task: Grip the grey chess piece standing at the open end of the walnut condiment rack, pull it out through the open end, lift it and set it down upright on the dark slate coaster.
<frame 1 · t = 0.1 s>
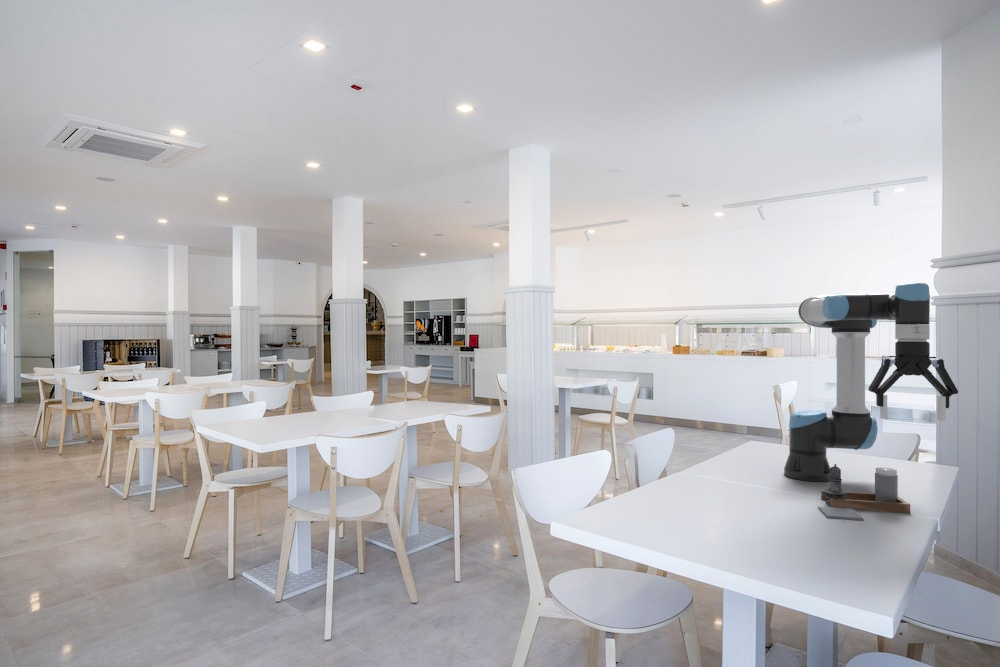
hand: (912, 419, 155), 28 cm above the table, fingers open, 13 cm apart
coaster: (840, 514, 163), on the table
rack: (861, 505, 171), on the table
grey chess piece: (835, 504, 173), resting in rack
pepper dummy: (886, 506, 170), resting in rack
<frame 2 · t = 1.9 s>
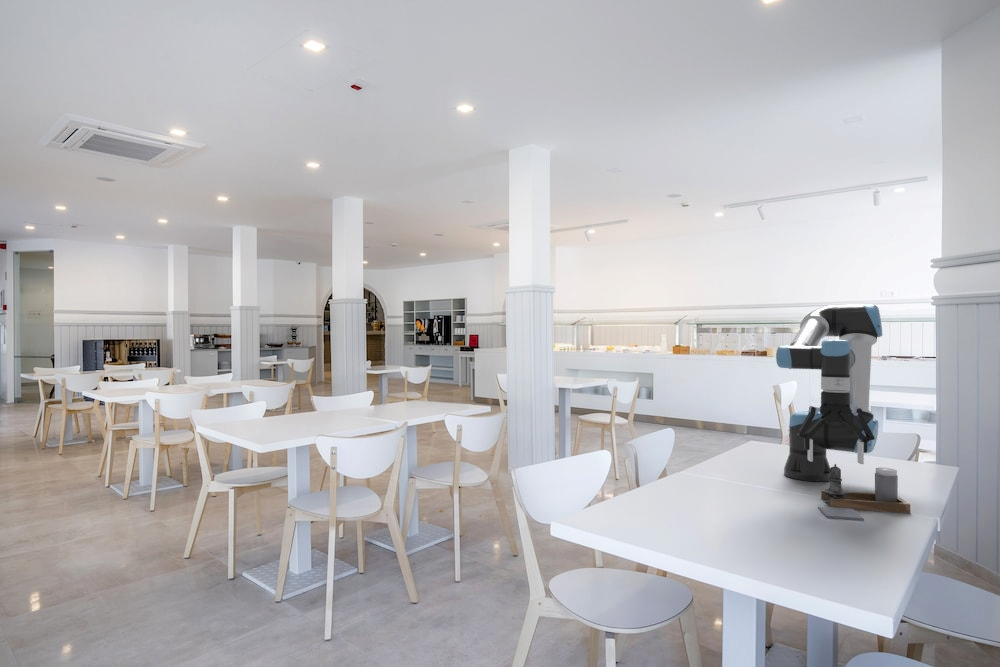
hand: (835, 462, 173), 13 cm above the table, fingers open, 13 cm apart
nothing on the table moved.
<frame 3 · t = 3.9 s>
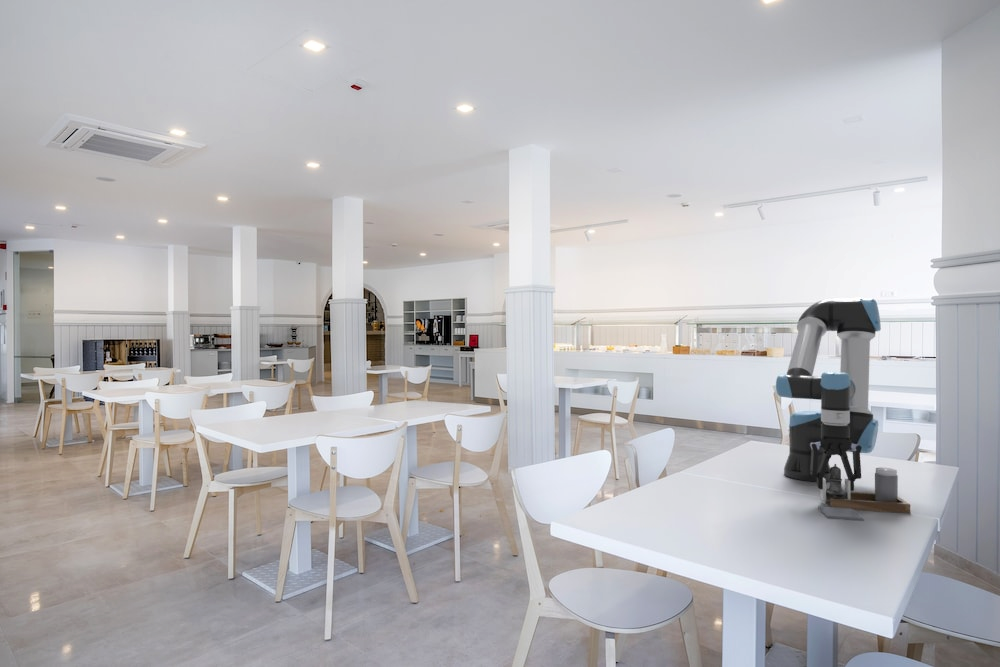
hand: (835, 500, 173), 1 cm above the table, fingers closed on grey chess piece, 6 cm apart
grey chess piece: (835, 504, 173), resting in rack, touching gripper
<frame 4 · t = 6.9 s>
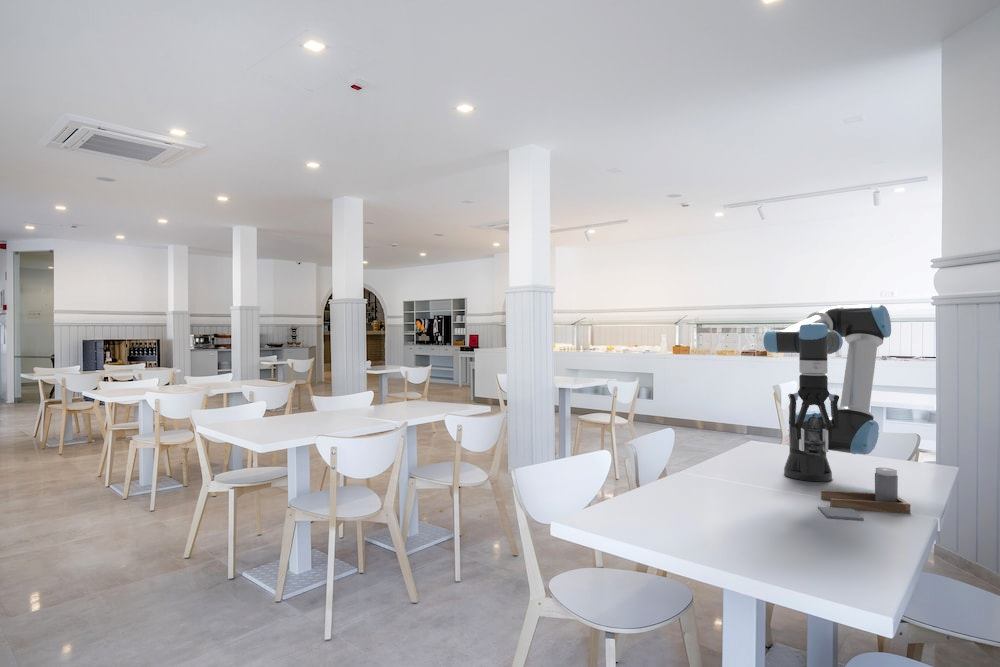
hand: (813, 450, 175), 16 cm above the table, fingers closed on grey chess piece, 6 cm apart
grey chess piece: (813, 454, 175), point 15 cm above the table, touching gripper
when the fingers open (3 cm above the table, at t = 10.3 s): grey chess piece drops 1 cm, resting on coaster.
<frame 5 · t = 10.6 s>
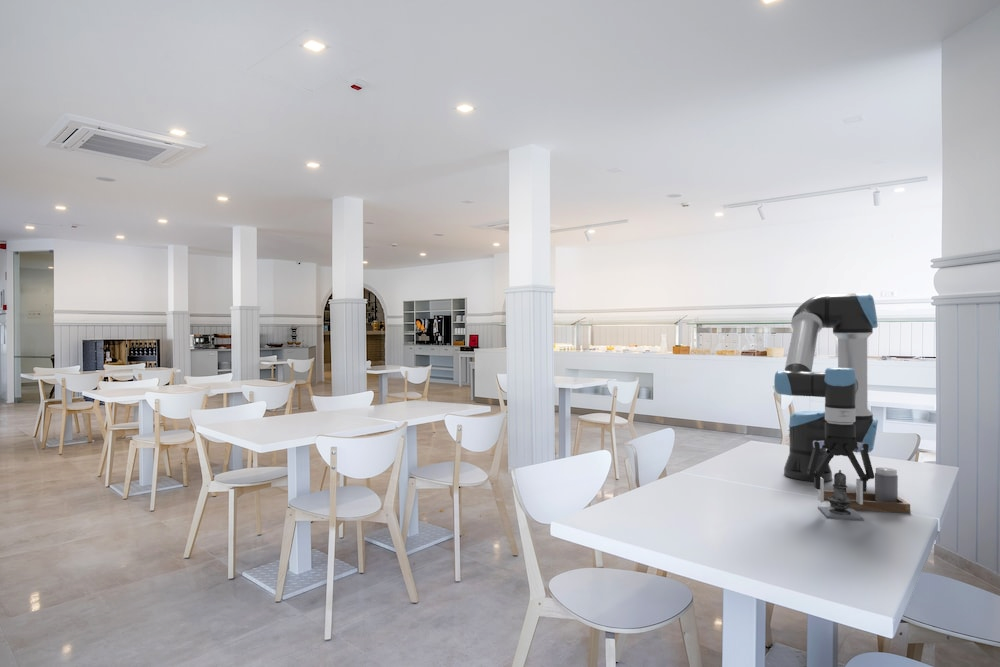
hand: (840, 501, 163), 4 cm above the table, fingers open, 9 cm apart
grey chess piece: (840, 512, 163), resting on coaster
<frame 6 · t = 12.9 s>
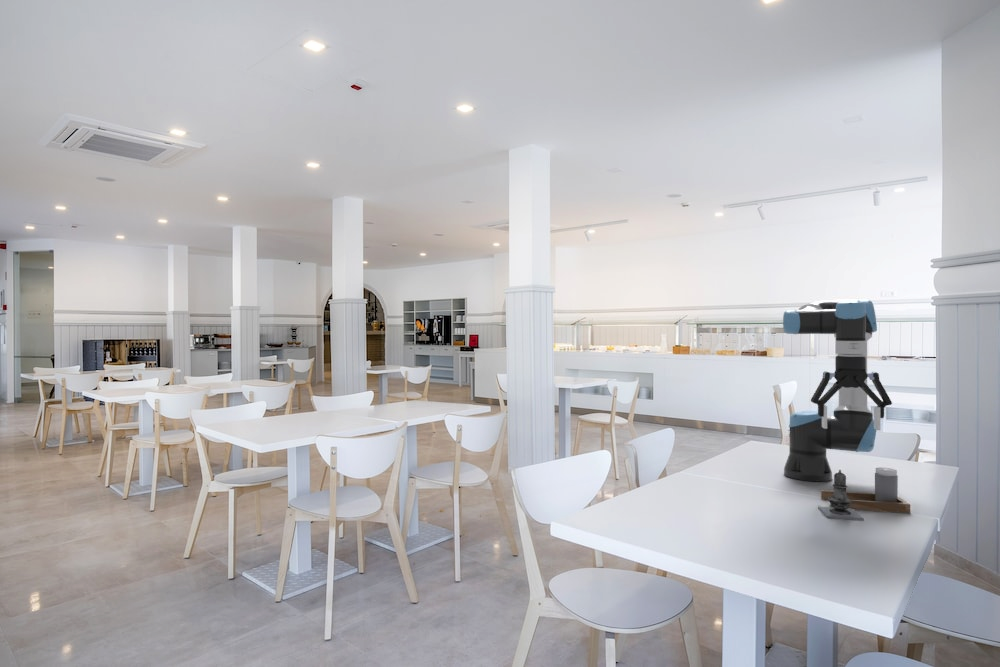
hand: (850, 428, 167), 24 cm above the table, fingers open, 13 cm apart
nothing on the table moved.
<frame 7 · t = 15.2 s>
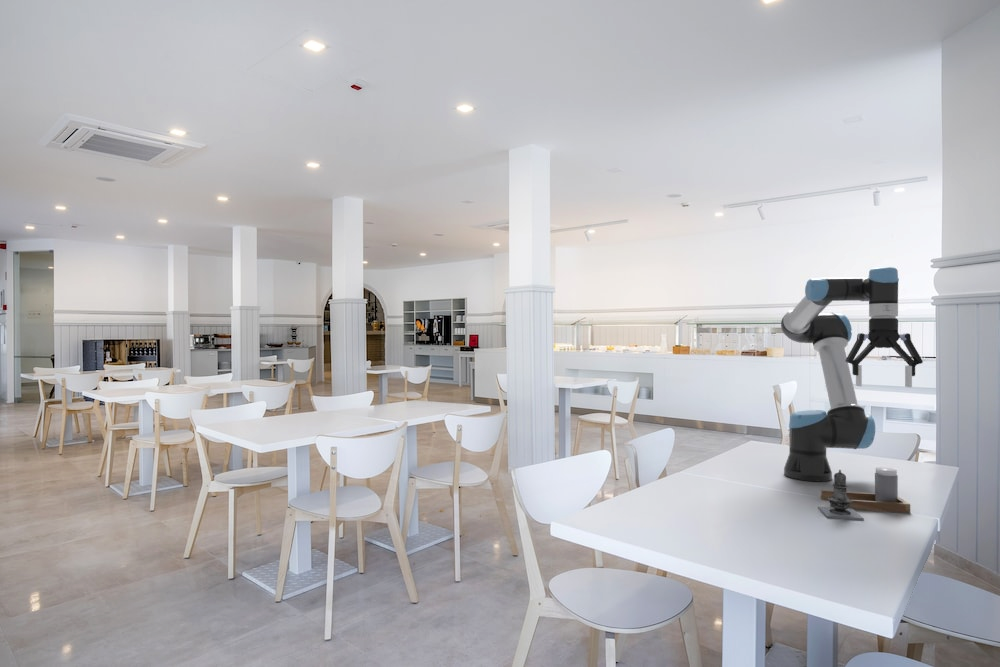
hand: (883, 386, 178), 35 cm above the table, fingers open, 13 cm apart
nothing on the table moved.
at the end: grey chess piece inside the target area on the coaster (0.0 cm from its centre), point 0.4 cm above the coaster's base; grey chess piece tilted 0°; the gripper is holding nothing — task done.
